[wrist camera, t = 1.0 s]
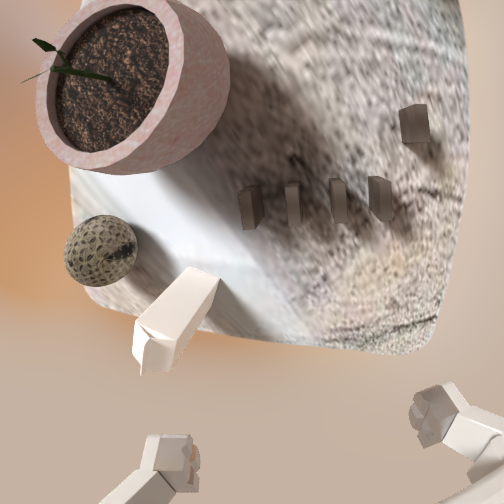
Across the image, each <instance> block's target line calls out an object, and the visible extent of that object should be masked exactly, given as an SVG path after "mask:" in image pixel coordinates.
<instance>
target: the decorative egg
mask: <svg viewBox="0 0 504 504" xmlns="http://www.w3.org/2000/svg"><path fill="white" fill-rule="evenodd" d="M137 250H138V245H137V240H136V236H135V234H134V232H133V230H132V229H131V227H130V226H129V225H128V224H127V223H126V222H125V221H123V220H122V219H120V218H117V217H115V216H111V215H99V216H95V217H92V218H89V219H87V220H85V221H84V222H82V223H81V224H80V225H78V226H77V227H76V228H75V229H74V230H73V232H72V233H71V234H70V236H69V238H68V239H67V242H66V245H65V249H64V263H65V266H66V269H67V270H68V272H69V274H70V275H71V276H72V277H73V278H74V279H75V280H76V281H78V282H79V283H81V284H83V285H86V286H91V287H101V286H106V285H109V284H112V283H114V282H116V281H118V280H120V279H121V278H123V277H124V276H125V275H126V274H127V273H128V272H129V271H130V270H131V268H132V266H133V265H134V263H135V260H136V256H137Z"/></svg>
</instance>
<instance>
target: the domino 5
mask: <svg viewBox="0 0 504 504" xmlns="http://www.w3.org/2000/svg"><path fill="white" fill-rule="evenodd" d="M399 118H400V126H401V135H402V143H430V142H431V140H430V129H429V120H428V112H427V105H426V104H414V105H412V106H409V107H406V108H404V109H401V110H399Z"/></svg>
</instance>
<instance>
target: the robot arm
mask: <svg viewBox="0 0 504 504" xmlns="http://www.w3.org/2000/svg"><path fill="white" fill-rule="evenodd" d="M413 400H414V403H413V405H412V406H411V407H410V410H409V419H410V423H411V425H412V427H413V428H414V429H416V430H418V431H419V432H418V438H419V440H420V442H421V444H422V446H423V448H427V447H429V446H432V445H434V444H436V443H439V442H441V441H442V443H444V444H446V445H447V446H449V447H451V448H452V449H454V450H455V451H457V452H459V453H460V454H462V455H463V456H465V457H467V458H468V459H470V460H472V461H473V462H475V463H474V464H473V465H472V466H471V468H470V469H469V470H468V472H467V475H468V477H469V479H470V481H471V483H472V485H470V486H469V487H467V488H465V489H463V490H461V491H460V492H458V493H456V494H454V495H452V496H450V497H448V498H446V499H444V500H442V501H440V502H438V503H436V504H504V418H503V417H501V416H498V415H496V414H493V413H491V412H488V411H485V410H483V409H481V408H478V407H476V406H471V407H470V406H469V404H468V403H467V401H466V400H465V399H464V397H463V396H462V395H461V393H460V392H459V390H458V389H457V388H456V386H455V385H454V384H453V383H452V381H450V380H448V381H445V382H443V383H440V384H438V385H435V386H432V387H430V388H427V389H424V390H422V391H419V392H417V393H416V394H415V395H414V398H413ZM199 469H200V454H199V451H198V448H197V446H195V445H194V444H193V439H192V437H191V435H164V434H149V435H148V437H147V439H146V443H145V448H144V453H143V456H142V461H141V466H140V470H135V471H134V472H133V473H132V474H131V475H129V476H128V477H127V478H126V479H125V480H124V481H123V482H122V483H121V484H120V485H119V486H118V487H117V488H115V489H114V490H113V491H112V492H111V493H110V494H109V495H107V496H106V497H105V498H104V499H103V500H102V501H101V502H100V503H98V504H168V503H169V502H170V501H171V500H172V498H173V497H174V496H175V494H176V492H198V490H199V477H198V475H197V474H196V472H197V471H198V470H199Z"/></svg>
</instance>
